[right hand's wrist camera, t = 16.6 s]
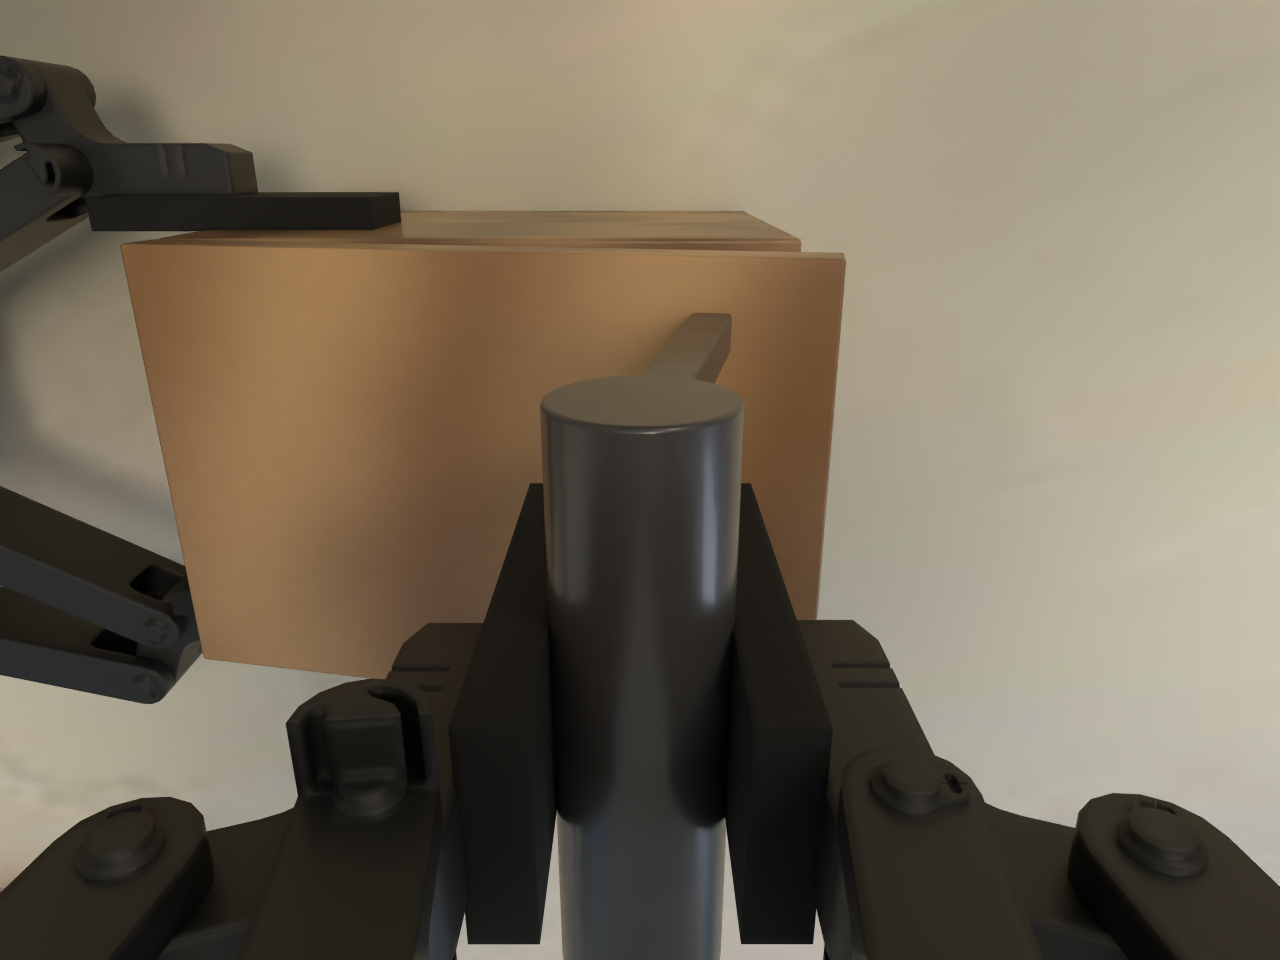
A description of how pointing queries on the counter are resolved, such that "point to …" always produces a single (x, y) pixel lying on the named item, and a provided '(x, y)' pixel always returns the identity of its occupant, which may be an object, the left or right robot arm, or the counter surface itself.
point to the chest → (549, 231)
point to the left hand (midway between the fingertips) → (405, 409)
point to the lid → (509, 497)
